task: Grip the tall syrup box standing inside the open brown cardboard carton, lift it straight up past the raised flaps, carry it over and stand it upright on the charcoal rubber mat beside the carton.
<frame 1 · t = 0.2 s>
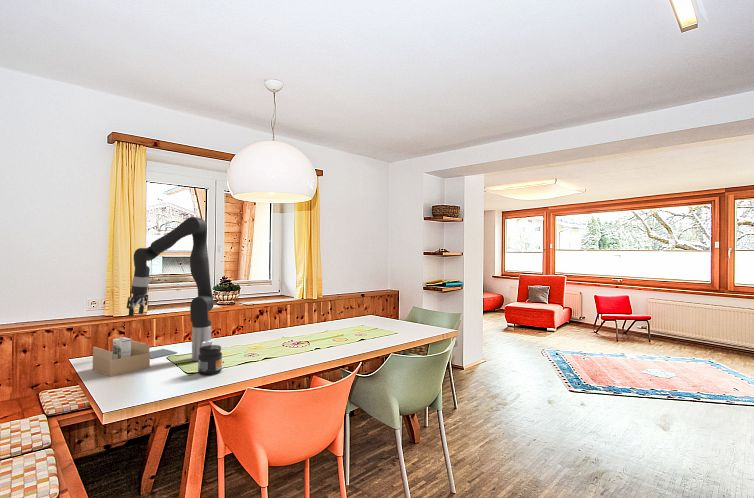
hand: (135, 315, 213), 23 cm above the table, tool pointing down, fingers open, 8 cm apart
carton: (121, 368, 194), on the table
supplement container: (209, 373, 188), on the table
mat: (157, 354, 220), on the table
syrup box: (121, 368, 194), resting in carton
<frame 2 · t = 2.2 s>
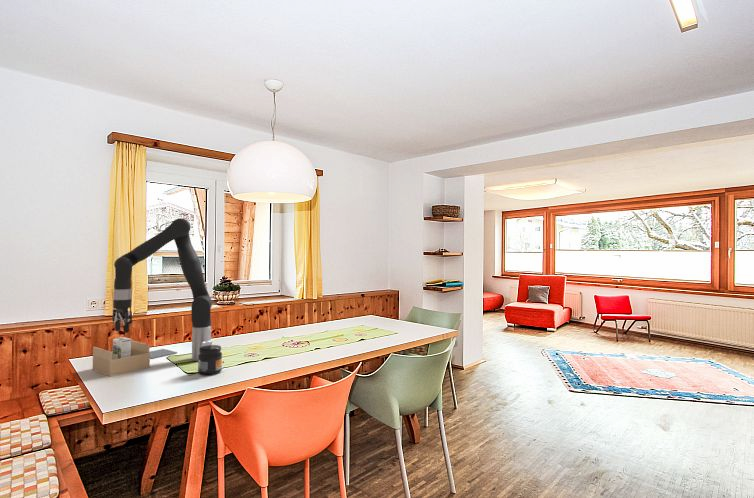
hand: (121, 331, 194), 18 cm above the table, tool pointing down, fingers open, 8 cm apart
nothing on the table moved.
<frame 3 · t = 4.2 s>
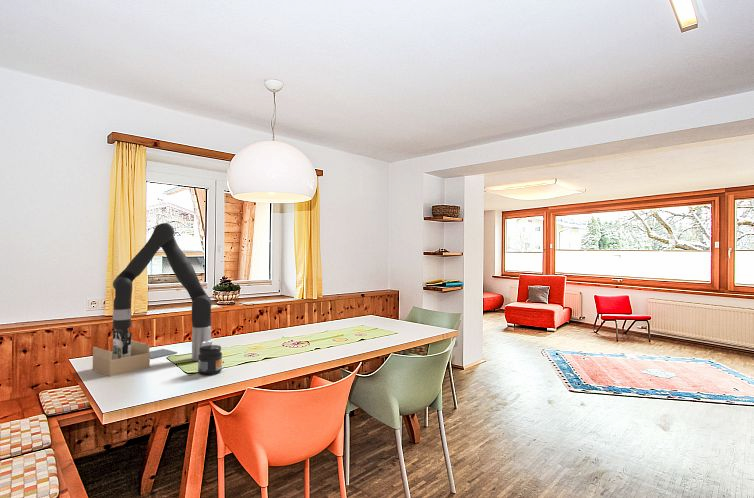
hand: (121, 352, 194), 8 cm above the table, tool pointing down, fingers closed on syrup box, 6 cm apart
syrup box: (121, 368, 194), resting in carton, touching gripper
everything else where it was.
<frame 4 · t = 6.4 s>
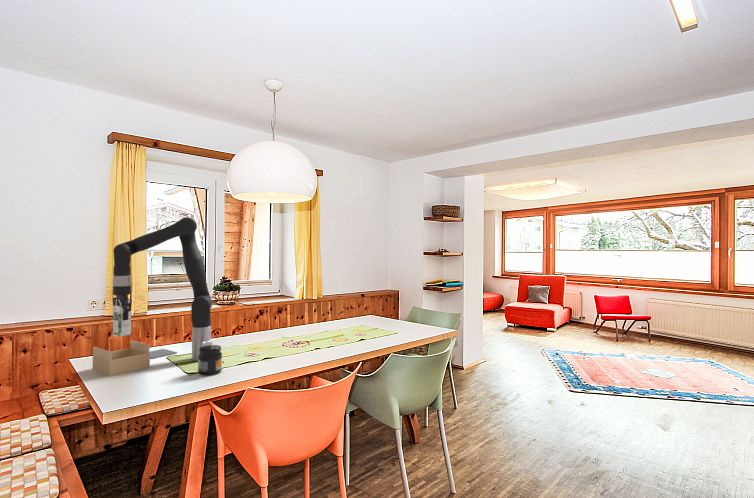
hand: (122, 319, 194), 24 cm above the table, tool pointing down, fingers closed on syrup box, 6 cm apart
syrup box: (122, 335, 194), point 16 cm above the table, touching gripper
everything else where it was.
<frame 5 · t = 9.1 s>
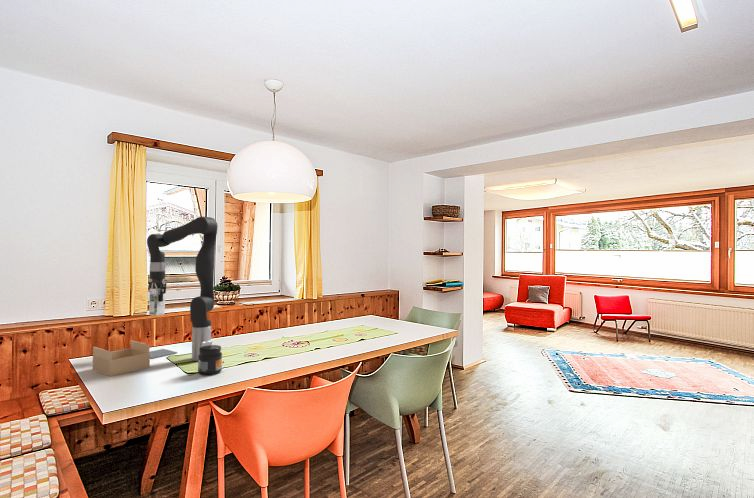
hand: (157, 300, 219), 29 cm above the table, tool pointing down, fingers closed on syrup box, 6 cm apart
syrup box: (157, 315, 219), point 22 cm above the table, touching gripper
everything else where it was.
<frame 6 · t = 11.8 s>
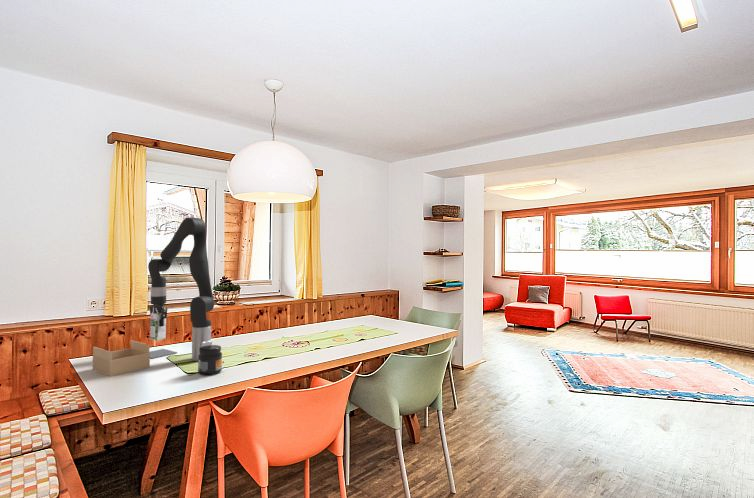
hand: (158, 325, 220), 16 cm above the table, tool pointing down, fingers closed on syrup box, 6 cm apart
syrup box: (157, 339, 220), point 8 cm above the table, touching gripper
everything else where it was.
when the fingers open (9 cm above the table, at t = 14.1 s): syrup box drops 1 cm, resting on mat.
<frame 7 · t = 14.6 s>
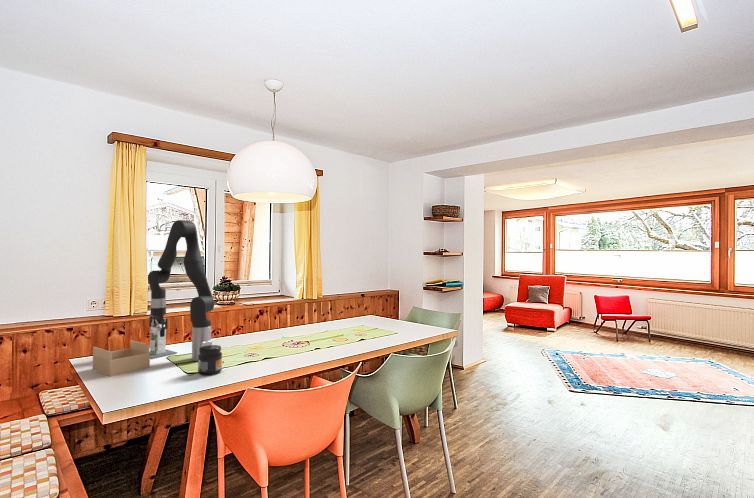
hand: (158, 335, 220), 10 cm above the table, tool pointing down, fingers open, 8 cm apart
syrup box: (157, 353, 220), resting on mat
everything else where it was.
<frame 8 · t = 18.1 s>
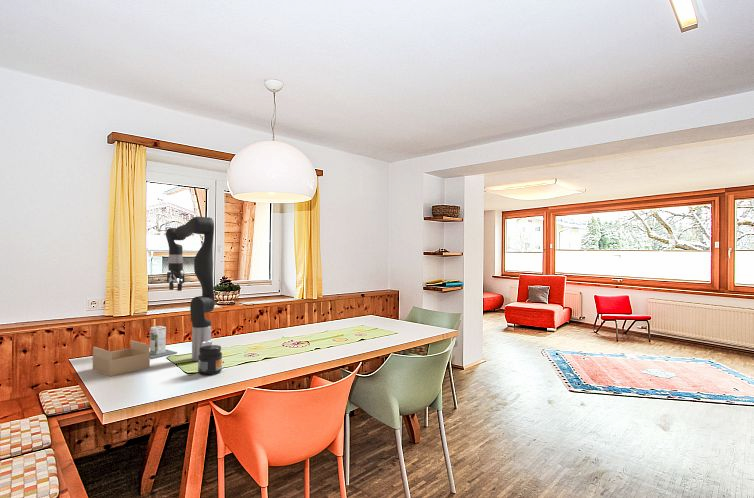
hand: (175, 290, 233), 34 cm above the table, tool pointing down, fingers open, 8 cm apart
nothing on the table moved.
at the end: syrup box inside the target area on the mat (0.1 cm from its centre), point 0.4 cm above the mat's base; syrup box tilted 0°; the gripper is holding nothing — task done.
